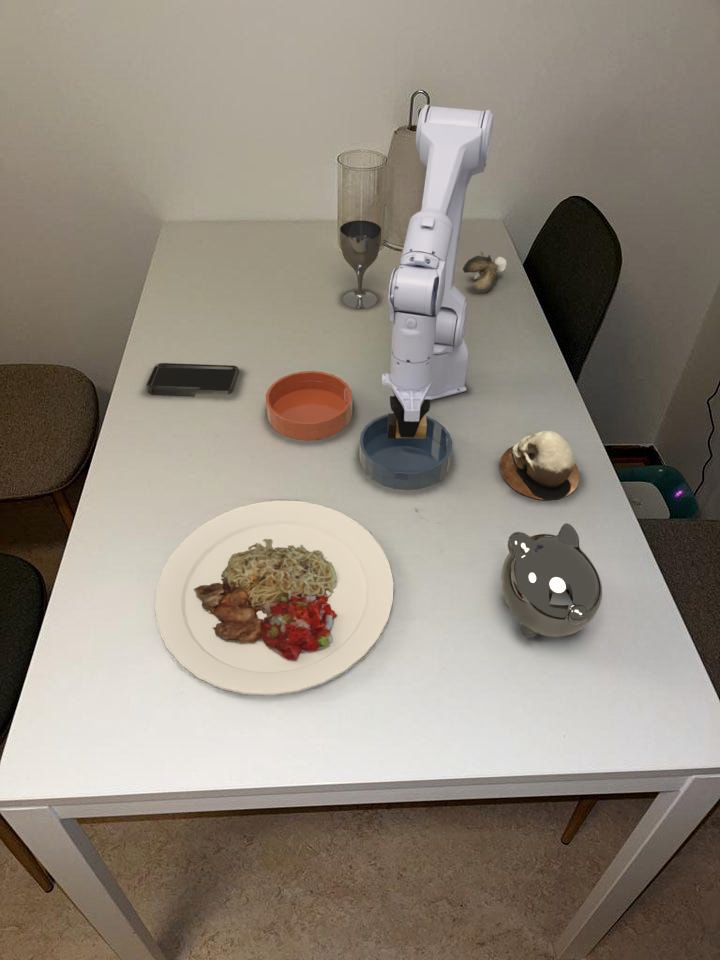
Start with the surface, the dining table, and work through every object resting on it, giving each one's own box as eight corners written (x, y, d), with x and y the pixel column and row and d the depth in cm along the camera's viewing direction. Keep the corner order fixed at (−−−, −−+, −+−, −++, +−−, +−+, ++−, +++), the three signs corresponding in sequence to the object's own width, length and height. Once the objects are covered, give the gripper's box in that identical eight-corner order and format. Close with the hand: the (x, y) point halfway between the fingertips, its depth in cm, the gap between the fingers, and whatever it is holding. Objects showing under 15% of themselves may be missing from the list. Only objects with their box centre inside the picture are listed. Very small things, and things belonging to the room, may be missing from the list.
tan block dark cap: (424, 427, 104) (425, 413, 102) (425, 439, 102) (426, 425, 100) (387, 427, 104) (388, 413, 102) (387, 438, 102) (388, 424, 100)
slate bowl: (425, 423, 114) (427, 404, 111) (465, 478, 104) (469, 458, 101) (346, 444, 110) (346, 424, 107) (381, 502, 100) (382, 483, 98)
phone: (156, 362, 123) (239, 365, 123) (157, 367, 124) (240, 370, 123) (144, 389, 118) (231, 392, 117) (145, 394, 118) (232, 397, 118)
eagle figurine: (468, 264, 151) (453, 274, 144) (490, 240, 146) (476, 249, 140) (492, 290, 151) (477, 301, 144) (515, 267, 146) (501, 277, 140)
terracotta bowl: (334, 382, 121) (334, 363, 119) (364, 430, 112) (365, 411, 109) (257, 400, 118) (255, 381, 115) (282, 451, 108) (280, 432, 105)
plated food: (254, 482, 103) (251, 465, 101) (433, 563, 92) (435, 547, 90) (106, 627, 85) (99, 611, 82) (308, 750, 74) (306, 736, 72)
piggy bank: (555, 559, 93) (575, 500, 85) (608, 654, 83) (635, 597, 75) (477, 573, 91) (489, 514, 83) (520, 672, 81) (539, 616, 73)
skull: (479, 453, 107) (526, 403, 103) (516, 474, 113) (560, 428, 110) (520, 503, 98) (572, 451, 95) (557, 522, 105) (606, 474, 102)
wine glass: (386, 296, 143) (389, 226, 132) (366, 313, 138) (367, 242, 128) (354, 286, 146) (354, 217, 135) (333, 302, 141) (331, 231, 131)
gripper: (382, 322, 98) (379, 398, 108) (383, 382, 88) (380, 461, 97) (431, 323, 98) (424, 399, 108) (438, 383, 88) (430, 461, 97)
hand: (406, 428), depth 102 cm, fingers closed on tan block dark cap, 2 cm apart
